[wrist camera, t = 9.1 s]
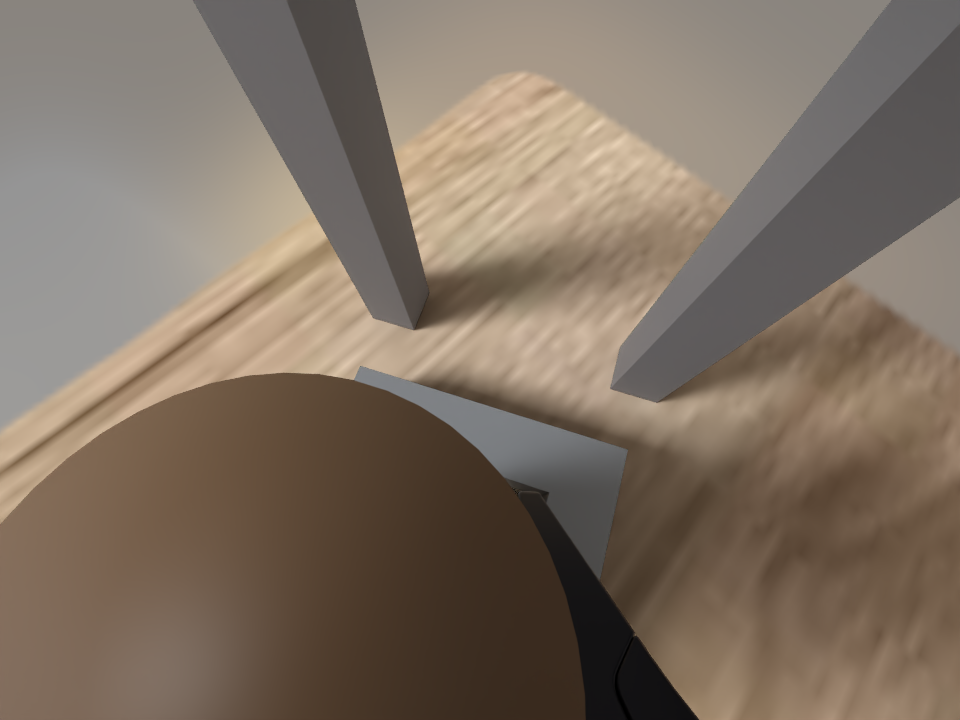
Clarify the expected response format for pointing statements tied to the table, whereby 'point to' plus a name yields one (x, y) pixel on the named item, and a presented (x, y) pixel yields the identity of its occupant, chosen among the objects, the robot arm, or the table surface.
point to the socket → (533, 460)
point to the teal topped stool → (727, 248)
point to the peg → (281, 569)
